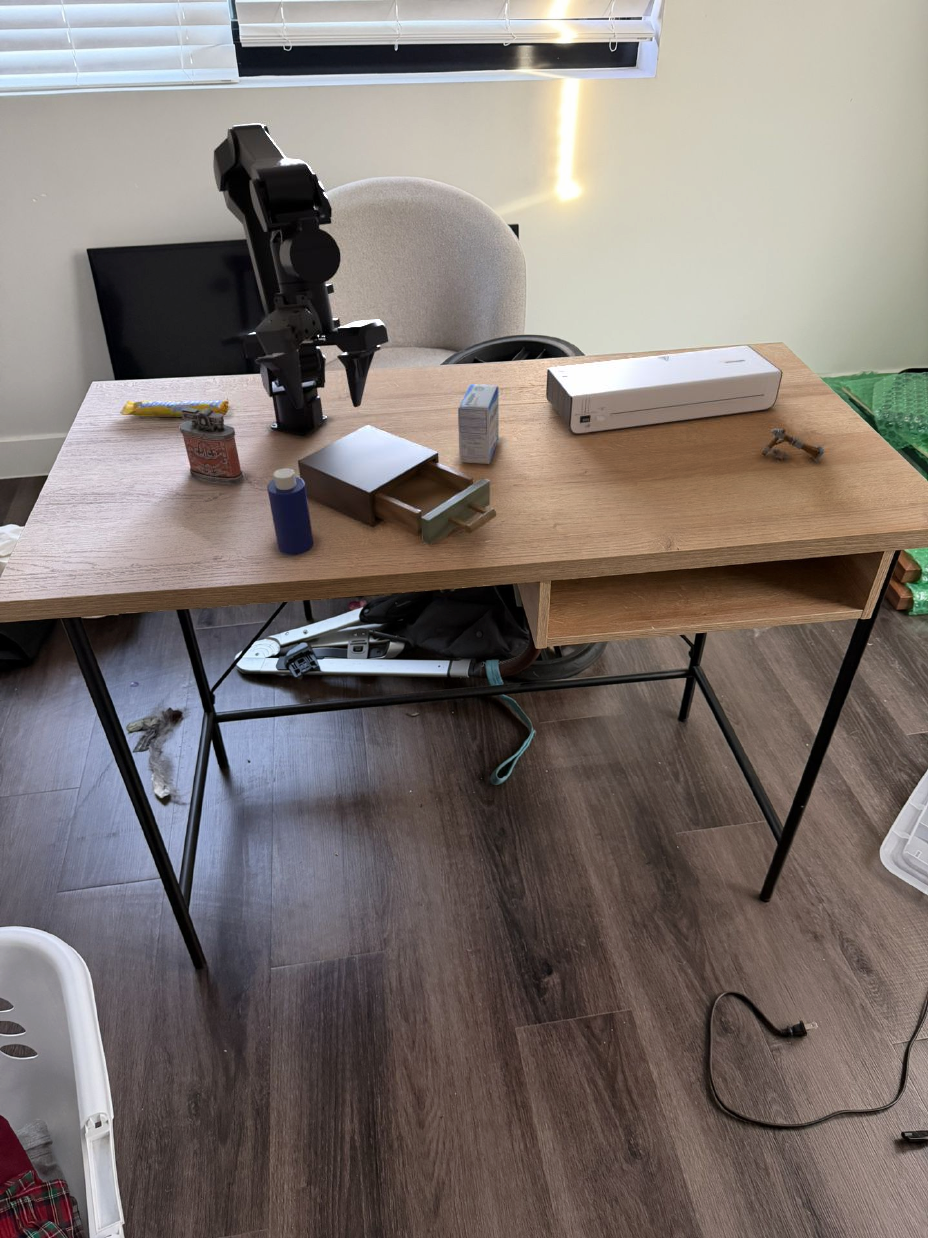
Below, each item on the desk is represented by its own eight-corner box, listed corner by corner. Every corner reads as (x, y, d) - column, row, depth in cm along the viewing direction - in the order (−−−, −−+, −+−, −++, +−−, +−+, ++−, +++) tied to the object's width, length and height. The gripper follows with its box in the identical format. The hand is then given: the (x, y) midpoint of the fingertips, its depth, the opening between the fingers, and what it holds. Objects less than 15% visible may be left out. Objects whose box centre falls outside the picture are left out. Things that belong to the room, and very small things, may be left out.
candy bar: (234, 406, 138) (232, 395, 137) (229, 418, 135) (226, 407, 133) (129, 408, 138) (126, 397, 137) (122, 420, 135) (118, 409, 133)
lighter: (248, 474, 121) (235, 408, 114) (236, 486, 118) (222, 419, 112) (199, 466, 123) (183, 400, 116) (185, 477, 120) (169, 411, 114)
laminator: (740, 380, 143) (747, 344, 139) (778, 412, 133) (787, 374, 129) (545, 404, 137) (547, 367, 133) (570, 439, 127) (573, 400, 124)
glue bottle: (273, 540, 108) (260, 468, 101) (307, 532, 109) (296, 460, 103) (283, 558, 105) (270, 485, 98) (318, 549, 106) (307, 477, 100)
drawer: (513, 514, 110) (513, 490, 108) (453, 556, 103) (452, 531, 101) (419, 475, 118) (418, 452, 116) (358, 512, 111) (355, 488, 109)
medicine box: (489, 465, 122) (489, 408, 116) (458, 463, 122) (457, 406, 117) (498, 439, 128) (499, 384, 122) (469, 437, 128) (468, 382, 123)
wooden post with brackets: (755, 448, 122) (774, 422, 120) (802, 470, 124) (822, 444, 121) (757, 454, 121) (777, 428, 118) (805, 476, 123) (825, 450, 120)
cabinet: (439, 486, 118) (438, 452, 114) (372, 527, 110) (369, 492, 106) (370, 457, 124) (367, 424, 121) (302, 494, 116) (297, 460, 113)
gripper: (200, 296, 103) (233, 425, 110) (326, 283, 95) (353, 423, 101) (258, 282, 112) (285, 402, 119) (379, 269, 103) (400, 399, 110)
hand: (327, 407), depth 112 cm, fingers open, 9 cm apart
